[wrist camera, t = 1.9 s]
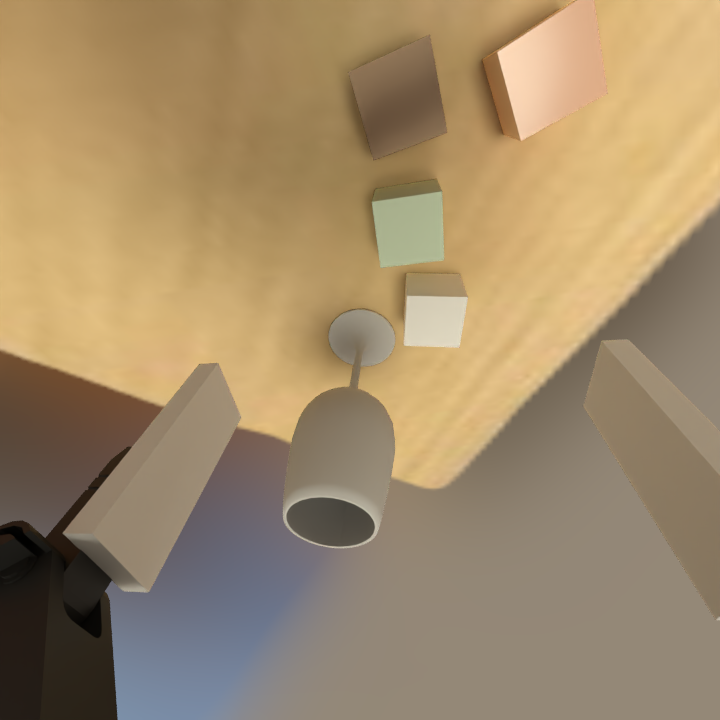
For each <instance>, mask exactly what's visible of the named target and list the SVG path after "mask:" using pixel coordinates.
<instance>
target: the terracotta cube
mask: <svg viewBox="0 0 720 720" xmlns="http://www.w3.org/2000/svg"><path fill="white" fill-rule="evenodd" d="M482 61H483V65H484V68H485V72H486V75H487V79H488V82H489V86H490V89H491V93H492V96H493V100H494V103H495V107H496V110H497V114H498V117H499V120H500V124H501V127H502V131H503V134H504V135H505V136H508V137H511V138H514V139H517V140H519V141H522V140H524V139H526V138H527V137H529V136H531V135H533V134H535V133H537V132H538V131H540V130H542V129H544V128H546V127H548V126H549V125H551V124H553V123H555V122H557V121H559V120H560V119H562V118H564V117H566V116H568V115H570V114H571V113H573V112H575V111H577V110H579V109H580V108H582V107H584V106H586V105H588V104H590V103H591V102H593V101H595V100H597V99H599V98H601V97H602V96H604V95H606V94H608V91H607V85H606V78H605V71H604V64H603V57H602V50H601V43H600V36H599V29H598V23H597V16H596V9H595V2H594V0H575V1H573V2H571V3H570V4H568V5H566V6H564V7H563V8H561V9H559V10H558V11H556V12H555V13H553V14H551V15H550V16H548V17H547V18H545V19H544V20H542V21H541V22H539V23H538V24H536V25H535V26H533V27H531V28H530V29H528V30H527V31H525V32H524V33H522V34H521V35H519V36H518V37H516V38H515V39H513V40H511V41H510V42H508V43H507V44H505V45H504V46H502V47H501V48H499V49H498V50H496V51H494V52H493V53H491V54H490V55H488V56H487V57H485V58H484V59H482Z"/></svg>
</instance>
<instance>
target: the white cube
mask: <svg viewBox="0 0 720 720" xmlns="http://www.w3.org/2000/svg"><path fill="white" fill-rule="evenodd" d="M467 300H468V296H467V293H466V290H465V287H464V284H463V281H462V278H461V275H460V274H442V273H406V287H405V304H404V346H429V347H458V348H459V347H460V341H461V335H462V329H463V323H464V317H465V311H466V305H467Z"/></svg>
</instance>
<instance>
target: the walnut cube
mask: <svg viewBox="0 0 720 720" xmlns="http://www.w3.org/2000/svg"><path fill="white" fill-rule="evenodd" d="M348 73H349V77H350V80H351V84H352V87H353V91H354V94H355V98H356V101H357V105H358V108H359V112H360V115H361V119H362V122H363V126H364V129H365V133H366V136H367V140H368V143H369V147H370V150H371V154H372V157H373V161H374V160H376V159H379V158H382V157H384V156H387V155H390V154H392V153H395V152H397V151H400V150H403V149H405V148H408V147H411V146H413V145H416V144H418V143H421V142H424V141H426V140H429V139H432V138H434V137H437V136H440V135H442V134H445V133H447V129H446V123H445V117H444V112H443V106H442V100H441V95H440V89H439V84H438V78H437V72H436V67H435V61H434V56H433V50H432V44H431V39H430V35H428V36H426V37H423V38H421V39H419V40H417V41H415V42H413V43H410V44H408V45H406V46H404V47H402V48H399V49H397V50H395V51H393V52H391V53H389V54H386V55H384V56H382V57H380V58H378V59H375V60H373V61H371V62H369V63H367V64H364V65H362V66H360V67H358V68H356V69H354V70H351V71H349V72H348Z"/></svg>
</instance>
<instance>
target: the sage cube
mask: <svg viewBox="0 0 720 720" xmlns="http://www.w3.org/2000/svg"><path fill="white" fill-rule="evenodd" d="M372 208H373V215H374V223H375V230H376V238H377V245H378V253H379V260H380V267H381V268H384V267H392V266H400V265H409V264H417V263H425V262H434V261H442V260H444V236H443V202H442V190H441V187H440V185H439V183H438V180H437V179H433V180H427V181H421V182H414V183H408V184H402V185H395V186H389V187H383V188H377V189H376V190H375V193H374V196H373V199H372Z"/></svg>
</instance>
